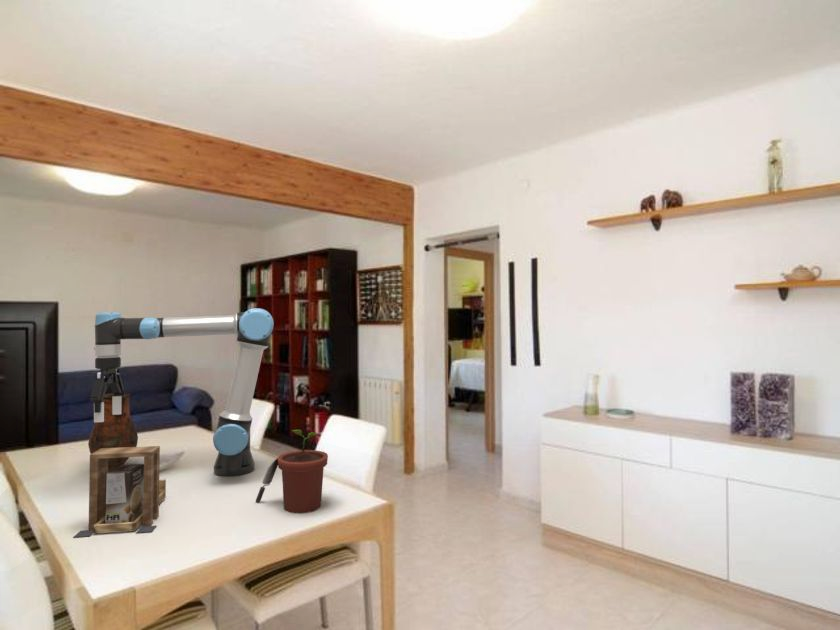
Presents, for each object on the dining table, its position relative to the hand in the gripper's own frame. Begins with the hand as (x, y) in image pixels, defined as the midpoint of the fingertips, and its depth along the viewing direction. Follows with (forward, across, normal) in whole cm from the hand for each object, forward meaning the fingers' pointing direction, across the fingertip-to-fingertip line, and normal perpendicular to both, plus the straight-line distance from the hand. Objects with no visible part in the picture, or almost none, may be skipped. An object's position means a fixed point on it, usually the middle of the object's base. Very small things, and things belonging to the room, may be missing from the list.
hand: (108, 418), depth 168 cm
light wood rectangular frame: (+25, +24, +17) cm, 39 cm away
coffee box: (+26, +30, +17) cm, 43 cm away
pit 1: (+25, +36, +9) cm, 45 cm away
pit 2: (+26, +36, +25) cm, 51 cm away
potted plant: (+27, +23, +65) cm, 74 cm away
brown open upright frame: (+25, +30, +17) cm, 43 cm away
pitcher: (+25, -27, -10) cm, 38 cm away
